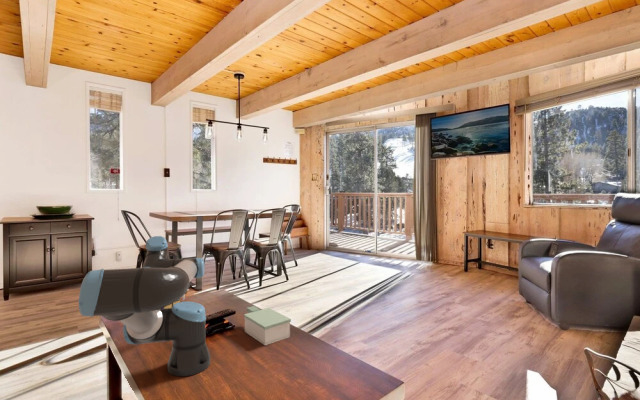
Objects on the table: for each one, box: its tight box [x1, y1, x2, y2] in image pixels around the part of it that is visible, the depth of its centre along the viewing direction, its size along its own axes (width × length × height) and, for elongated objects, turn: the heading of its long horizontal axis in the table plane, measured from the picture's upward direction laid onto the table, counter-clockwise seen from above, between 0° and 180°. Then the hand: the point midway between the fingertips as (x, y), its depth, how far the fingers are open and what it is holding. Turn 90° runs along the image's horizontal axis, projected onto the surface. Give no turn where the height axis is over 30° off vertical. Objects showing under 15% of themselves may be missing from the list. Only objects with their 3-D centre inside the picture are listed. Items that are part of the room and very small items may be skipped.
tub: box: [244, 317, 291, 346], centre depth 154 cm, size 18×13×7 cm
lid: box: [243, 305, 292, 330], centre depth 156 cm, size 25×14×2 cm, turn 41°
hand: (167, 300), depth 151 cm, fingers open, 13 cm apart
